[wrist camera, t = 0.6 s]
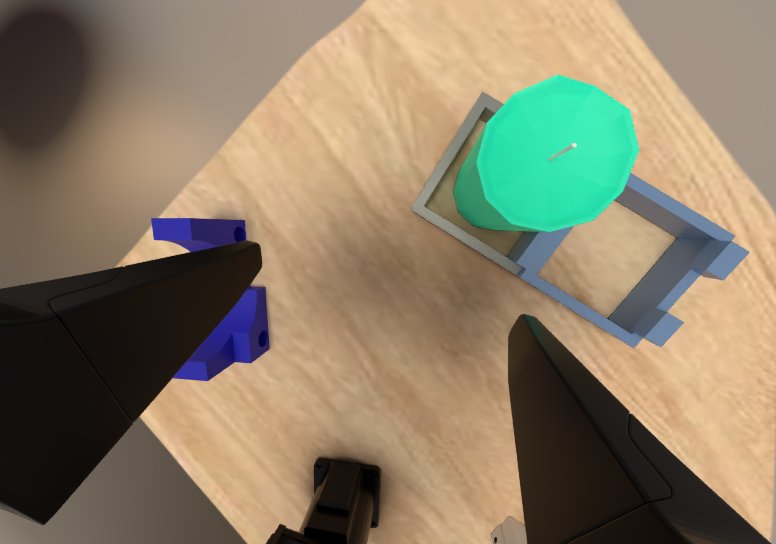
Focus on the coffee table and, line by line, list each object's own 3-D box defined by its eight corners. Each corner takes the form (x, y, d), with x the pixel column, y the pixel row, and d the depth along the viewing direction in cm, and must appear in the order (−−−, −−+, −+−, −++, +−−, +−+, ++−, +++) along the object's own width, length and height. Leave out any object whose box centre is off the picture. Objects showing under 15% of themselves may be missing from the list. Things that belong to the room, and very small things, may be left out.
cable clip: (270, 348, 26) (225, 382, 21) (227, 345, 27) (172, 378, 21) (261, 220, 24) (209, 218, 19) (215, 220, 25) (151, 218, 19)
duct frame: (696, 236, 20) (762, 238, 16) (610, 334, 22) (651, 358, 18) (477, 104, 20) (489, 75, 17) (412, 210, 22) (408, 207, 18)
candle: (549, 202, 21) (706, 170, 9) (477, 244, 22) (535, 263, 10) (509, 132, 20) (620, 5, 9) (438, 179, 22) (452, 122, 10)
